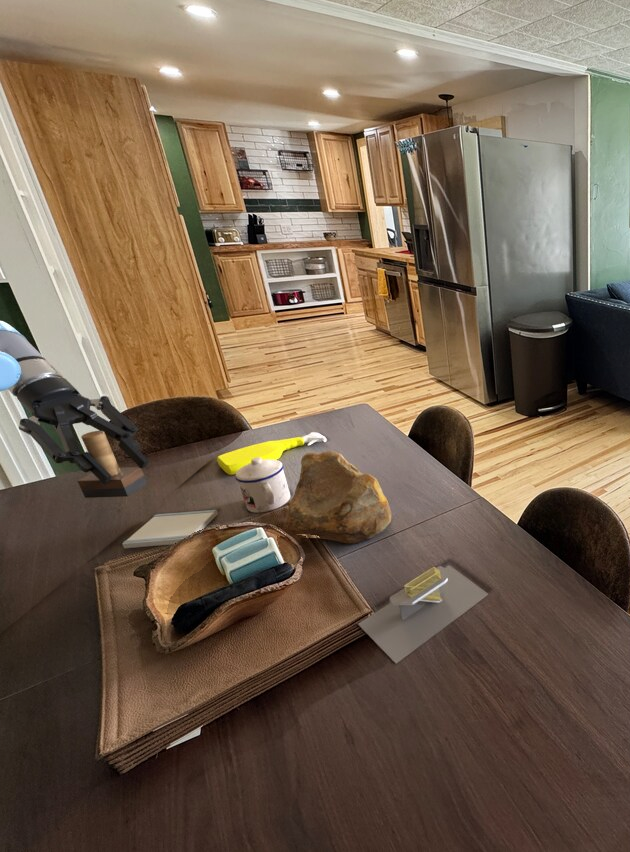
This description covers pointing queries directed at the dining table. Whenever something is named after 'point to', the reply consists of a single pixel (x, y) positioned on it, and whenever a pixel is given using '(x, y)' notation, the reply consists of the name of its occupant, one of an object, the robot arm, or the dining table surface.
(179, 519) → the tile
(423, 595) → the plastering trowel
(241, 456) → the spray bottle
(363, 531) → the rough brown rock
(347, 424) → the dining table surface
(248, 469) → the teacup with lid
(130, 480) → the rubber stamp
